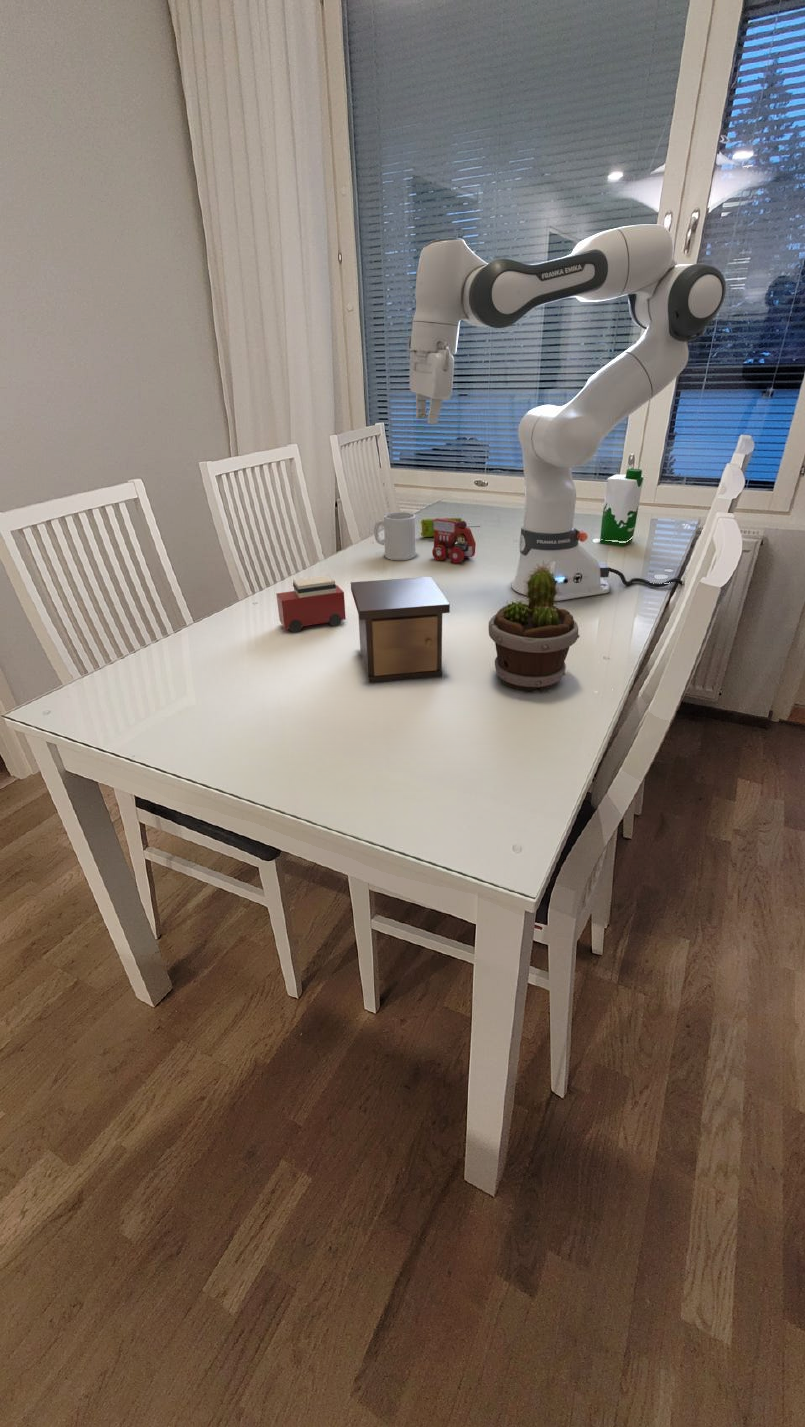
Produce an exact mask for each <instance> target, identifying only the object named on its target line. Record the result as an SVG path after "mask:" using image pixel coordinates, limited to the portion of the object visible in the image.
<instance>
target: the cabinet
mask: <svg viewBox="0 0 805 1427" xmlns="http://www.w3.org/2000/svg"><path fill="white" fill-rule="evenodd" d="M350 591H351V594H352V598H353V602H354V605H355V607H356V611H357V616H358V631H359V632H358V633H359V649H360V650H359V651H360V655H361V659H362V663H363V666H364V671H365V674H366V677H367V681H368V684H380V683H390V682H400V681H401V682H402V681H410V680H412V681H413V680H422V679H423V680H424V679H433V678H442V677H443V669H442V663H443V659H442V658H443V614H450V610H451V604H450V603H449V601H448V599H447V598H446V597H445V595H444V593H443V592H442V591H441V589H440V588H439V586H438V585H437V583H436V582H435V580H434V579H433V578H432V576H422V577H407V578H405V577H404V578H391V579H377V580H363V581H351V582H350Z"/></svg>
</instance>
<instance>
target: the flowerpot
mask: <svg viewBox="0 0 805 1427" xmlns="http://www.w3.org/2000/svg"><path fill="white" fill-rule="evenodd" d="M543 563H544V560H543ZM549 564H550V563H549ZM544 565H545V564H544ZM547 565H548V564H547ZM547 565H545V567H546V566H547ZM537 567H538V564H537ZM540 567H541V566H540ZM540 567H538V568H540ZM545 567H544V566H543V565H542V568H540V570H539V569H538V568H537V569H536V568H535V567H534V570H535V569H536V571H535V573H534V574H533V573H532V575H531V573H530V576H528V577H531V578H529V580H527V581H526V582H527V583H526V584H528V586H526V584H525V586H526V587H527V588H526V587H525V588H526V589H528V591H527V590H524V591H527V593H526V594H527V595H526V594H525V595H524V594H523V597H525V603H522V600H523V599H521V600H520V601H518V598H515V600H514V601H513V600H511V603H508V601H506V605H505V606H503V607H501V608H500V609H499V610H498V611H497V612H496V614H494V615H493V616H492V617H491V618H490V619H489V621H488V636H489V638H490V639H491V640H492V642H494V646H495V651H496V657H495V659H494V669H495V672H496V675H497V677H498V678H500V679H501V680H500V681H501V682H502V683H503V684H504V685H505V686H507V687H510V688H512V689H514V690H520V689H521V690H522V691H524V692H525V691H526V692H530V691H533V690H535V689H538V690H540V691H545V690H547V689H549V688H553V687H554V686H556V684H557V683H558V682H559V681H561V679H562V678H563V677H564V676H565V675H566V669H567V665H566V662H565V661H566V659H567V656H568V654H569V650H570V647H571V646H573V645H574V644H575V643H576V642H577V641H578V639H579V638H580V634H579V626H578V623H577V621H575V619H574V616H573V614H571V612H570V611H569V610H567V609H564V608H560V607H558V606H559V604H558V603H557V602H558V601H557V600H555V599H557V598H554V597H555V595H556V596H557V593H560V592H558V591H556V587H557V586H556V583H558V582H561V581H558V580H559V577H558V580H557V579H556V580H555V577H556V576H557V575H554V574H553V571H552V574H551V573H550V571H551V570H550V571H548V569H547V567H546V568H545ZM546 569H547V570H546ZM550 569H551V568H550ZM537 570H538V571H537ZM552 570H554V569H552ZM530 572H531V571H530ZM533 572H534V571H533ZM555 574H556V573H555ZM528 575H529V574H528ZM554 576H555V577H554ZM526 578H527V577H526ZM525 580H526V579H525ZM524 583H525V582H524ZM555 586H556V587H555ZM557 590H559V589H558V588H557ZM561 594H562V593H561ZM526 596H527V597H526ZM558 596H559V595H558ZM554 600H555V601H554ZM559 600H560V599H559ZM560 601H561V600H560Z"/></svg>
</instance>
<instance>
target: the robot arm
mask: <svg viewBox="0 0 805 1427" xmlns="http://www.w3.org/2000/svg"><path fill="white" fill-rule="evenodd" d="M674 249H675V246H674V240H673V236H672V233H670V231H669V229H668V228H666V226H664V225H661V224H658V223H657V224H655V223H645V224H644V223H643V224H633V225H626V226H620V227H615V228H612V229H608V230H604V231H601V232H598V233H596V234H594V235H592V236H589V237H587V238H585V239H583V240H581V241H580V242H578V243H577V244H576V246H575V247H574V248H573V250H572V252H571V253H570V254H568V255H566V256H563V257H559V258H554V259H550V260H547V261H543V262H538V263H533V264H527V263H523V262H520V261H517V260H513V259H509V258H498V259H495V260H493V261H490V262H489V263H488V262H486V261H485V260H484V259H482V258H480V257H479V256H478V255H477V254H476V253H475V252H473V251H472V249H471V248H470V247H469V246H468V245H467V244H466V241H465V240H464V239H463V238H461V237H441V238H438V239H433V240H431V241H429V242H427V243H426V244H425V245H424V246H423V248H422V250H421V251H420V255H419V260H418V264H417V272H416V280H415V290H414V297H415V311H414V312H415V313H414V315H413V317H412V326H411V327H412V328H411V335H410V337H409V338H408V343H407V344H408V345H407V349H408V351H409V352H410V355H409V389H410V392H412V393H414V394H415V404H416V405H415V406H416V414H415V416H416V418H417V419H419V420H425V419H426V418H427V423H428V424H430V425H438V423H439V416H440V412H441V410H442V407H443V401H449V400H450V399H451V398H452V394H453V385H454V383H453V382H454V373H455V359H454V356H453V355H456V354H457V350H458V349H457V348H458V340H459V333H460V332H459V331H460V322H461V321H462V322H464V323H467V324H469V325H471V326H472V327H475V328H476V327H477V328H493V329H505V328H508V327H511V326H512V325H514V324H515V323H516V322H519V320H520V319H522V318H523V317H524V316H525V315H526V314H527V313H529V312H530V311H531V310H533V309H534V308H537V307H540V306H543V305H546V304H551V303H555V302H557V301H562V300H566V299H569V298H570V299H571V298H576V299H577V300H578V301H579V302H581V303H582V302H583V303H590V302H591V303H593V302H603V301H609V300H614V299H617V298H620V297H624V296H627V299H628V300H627V301H628V302H627V303H628V304H627V305H628V306H627V307H628V312H629V315H630V318H631V320H632V321H633V323H634V324H635V325H637V326H638V327H639V328H641V329H643V330H645V331H644V332H643V334H642V336H641V337H640V338H639V339H638V340H637V341H636V343H635V344H633V345H632V346H630V347H629V348H627V349H626V350H624V351H623V352H622V353H621V354H619V355H617V356H616V357H615V358H614V359H612V360H611V361H610V362H608V363H607V364H605V365H604V366H603V367H602V368H601V369H599V370H598V371H597V372H595V373H594V374H592V375H591V376H590V377H589V378H588V379H587V382H586V383H585V386H584V387H583V388H582V389H581V390H580V391H579V392H578V394H576V396H574V397H573V399H572V400H570V401H569V402H567V403H566V404H564V405H562V406H558V405H553V404H544V405H540V406H536V407H534V408H532V409H530V410H528V412H526V413H525V414H524V415H523V417H522V418H521V420H520V422H519V425H518V430H517V437H518V440H519V441H518V442H519V444H520V447H521V454H522V467H523V468H522V469H523V478H524V493H525V494H524V512H523V524H522V526H521V527H520V535H519V544H518V545H519V546H518V548H519V558H518V564H517V566H516V567H517V568H516V572H515V575H514V578H513V581H512V584H511V588H512V590H513V591H515V592H516V593H519V594H522V595H523V596H524V595H525V594H526V593H527V591H528V589H526V588H527V587H526V586H528V584H526V583H527V582H526V581H527V580H529V578H531V577H528V576H530V573H531V575H532V573H533V574H534V573H535V571H536V569H537V568H538V567H540V566H541V567H540V568H542V565H543V566H544V567H545V565H547V564H548V565H547V566H546V567H547V569H548V571H550V570H551V571H550V573H551V574H552V571H553V574H554V575H557V576H556V577H555V576H554V577H555V580H556V579H557V580H558V577H559V580H558V581H561V582H558V583H556V586H557V587H556V586H555V587H556V591H558V592H560V593H557V596H556V595H555V597H554V598H557V599H555V600H557V601H555V600H554V601H555V602H560V601H565V600H571V599H578V598H585V597H590V596H597V595H603V594H608V593H609V592H610V585H609V583H608V582H607V581H606V580H605V579H603V578H609V575H610V573H613V574H615V575H617V576H618V577H619V579H620V580H621V583H622V584H623V585H625V586H630V585H632V584H633V583H641V584H645V585H646V586H650V587H653V588H662V587H666V586H669V585H671V584H672V583H671V582H673V583H678V585H682V582H683V580H681V578H678V577H674V578H671V579H668V580H667V581H664V582H652V583H650V582H651V581H649V580H647V579H645V578H641V577H634V578H631V579H630V580H626V577H625V575H624V573H622V572H621V571H620V570H618V569H615V568H612V567H610V566H608V564H607V563H606V562H605V561H598V560H597V559H596V558H595V557H594V556H593V555H592V554H590V552H588V551H587V550H586V549H585V548H584V547H582V546H581V545H580V544H579V542H582V543H584V542H587V540H588V538H589V536H588V534H587V532H584V530H583V531H582V530H581V531H580V530H579V529H577V528H575V527H574V521H575V511H576V503H577V490H576V486H575V484H574V480H573V479H574V478H573V473H572V468H578V467H582V466H583V465H586V464H587V463H589V462H590V461H592V459H593V458H594V457H595V455H596V454H597V452H598V450H599V448H600V445H601V443H602V442H603V441H604V439H605V438H606V437H607V436H609V434H610V433H611V432H612V431H613V430H614V429H615V427H617V426H618V425H619V424H620V423H621V422H622V421H624V420H625V419H626V418H628V417H629V416H631V415H632V414H633V413H634V412H636V411H637V410H638V409H640V408H641V407H642V406H644V405H645V404H647V403H648V402H649V401H650V400H652V399H653V398H654V397H656V396H657V395H658V394H660V393H661V392H662V391H663V390H665V388H667V386H669V385H670V384H671V383H672V382H674V380H675V379H676V378H677V377H678V376H679V375H680V374H681V373H682V372H683V371H684V370H685V368H686V367H687V364H688V361H689V356H690V355H689V353H690V352H689V346H688V342H691V341H694V340H697V339H698V338H699V337H700V336H701V335H702V333H703V332H704V331H705V329H706V327H707V326H708V325H709V324H710V323H711V322H712V321H713V319H714V318H716V316H717V314H718V313H719V311H720V309H721V307H722V306H723V303H724V301H725V298H726V293H727V292H726V291H727V285H726V279H725V276H724V275H723V273H722V272H721V271H720V270H719V269H718V268H717V267H715V266H713V265H710V264H708V263H703V262H702V263H701V262H699V263H698V262H697V263H694V264H693V263H692V264H689V263H686V264H677V262H676V261H675V259H674V252H675V250H674ZM428 398H429V411H428V409H427V401H428ZM427 412H428V413H427ZM543 560H544V563H543ZM549 563H550V564H549ZM537 564H538V567H537ZM544 564H545V565H544ZM534 567H535V568H536V569H535V570H534ZM546 567H545V568H546ZM540 568H538V569H539V570H540ZM550 568H551V569H550ZM547 569H546V570H547ZM552 569H554V570H552ZM530 571H531V572H530ZM533 571H534V572H533ZM537 571H538V570H537ZM555 573H556V574H555ZM528 574H529V575H528ZM526 577H527V578H526ZM525 579H526V580H525ZM524 582H525V583H524ZM669 582H670V584H664V583H669ZM653 583H654V584H653ZM659 583H660V584H659ZM661 583H662V584H661ZM525 584H526V586H525ZM525 587H526V588H525ZM557 588H558V589H559V590H557ZM524 590H527V591H524ZM561 593H562V594H561ZM558 595H559V596H558ZM525 596H528V595H527V594H526V595H525ZM559 599H560V600H559Z"/></svg>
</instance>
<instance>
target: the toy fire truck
mask: <svg viewBox="0 0 805 1427" xmlns="http://www.w3.org/2000/svg"><path fill="white" fill-rule="evenodd" d="M434 519H435V520H434V521H433V529H434V536H433V548H432V550H431V551H432V552H431V553H432V557H433V559H435V560H436V561H439V562H440V561H443V560H445V559H446V558H447V557H448V558H449V561H450V562H451V563H453V564H460V563H461V562H462V561H463V560H464V559H468V558H473V557H474V556H475V555H476V547H477V546H476V541H475V538H474V535H473V532H472V530H471V528H470V527H468V524H467V521H465V520H462V521H461V522H460V523H458V522H457V521H454V520H446V518H438V517H437V518H434ZM458 533H460V534H458Z"/></svg>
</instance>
